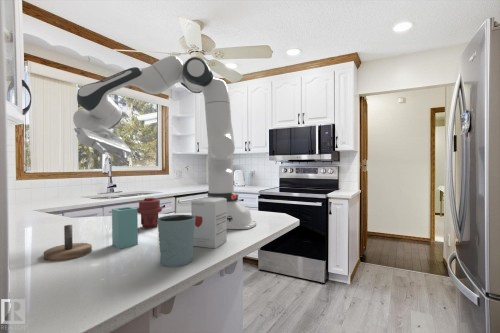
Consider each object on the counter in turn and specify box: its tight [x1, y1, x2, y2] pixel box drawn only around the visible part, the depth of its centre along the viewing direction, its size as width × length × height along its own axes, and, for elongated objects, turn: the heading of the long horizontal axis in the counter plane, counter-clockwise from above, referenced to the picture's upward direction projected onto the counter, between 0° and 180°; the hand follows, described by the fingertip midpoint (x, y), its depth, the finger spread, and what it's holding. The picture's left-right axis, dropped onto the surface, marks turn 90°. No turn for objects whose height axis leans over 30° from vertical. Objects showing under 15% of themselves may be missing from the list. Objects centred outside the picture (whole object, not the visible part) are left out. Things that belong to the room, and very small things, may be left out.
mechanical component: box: [137, 197, 163, 230], centre depth 115 cm, size 12×10×10 cm
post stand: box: [43, 224, 93, 262], centre depth 81 cm, size 12×12×8 cm
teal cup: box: [157, 214, 195, 268], centre depth 74 cm, size 10×10×12 cm
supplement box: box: [190, 196, 228, 249], centre depth 90 cm, size 9×9×15 cm
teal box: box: [111, 206, 139, 249], centre depth 90 cm, size 6×6×12 cm
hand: (115, 155), depth 98 cm, fingers open, 8 cm apart
